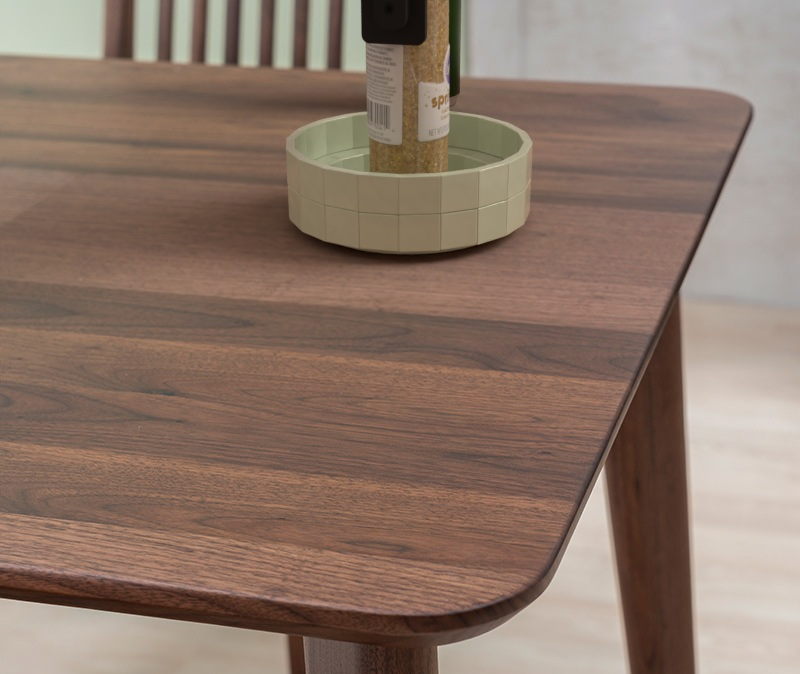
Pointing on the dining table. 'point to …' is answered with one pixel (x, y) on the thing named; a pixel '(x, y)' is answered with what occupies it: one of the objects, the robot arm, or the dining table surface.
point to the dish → (409, 187)
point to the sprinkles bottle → (410, 100)
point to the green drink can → (454, 49)
